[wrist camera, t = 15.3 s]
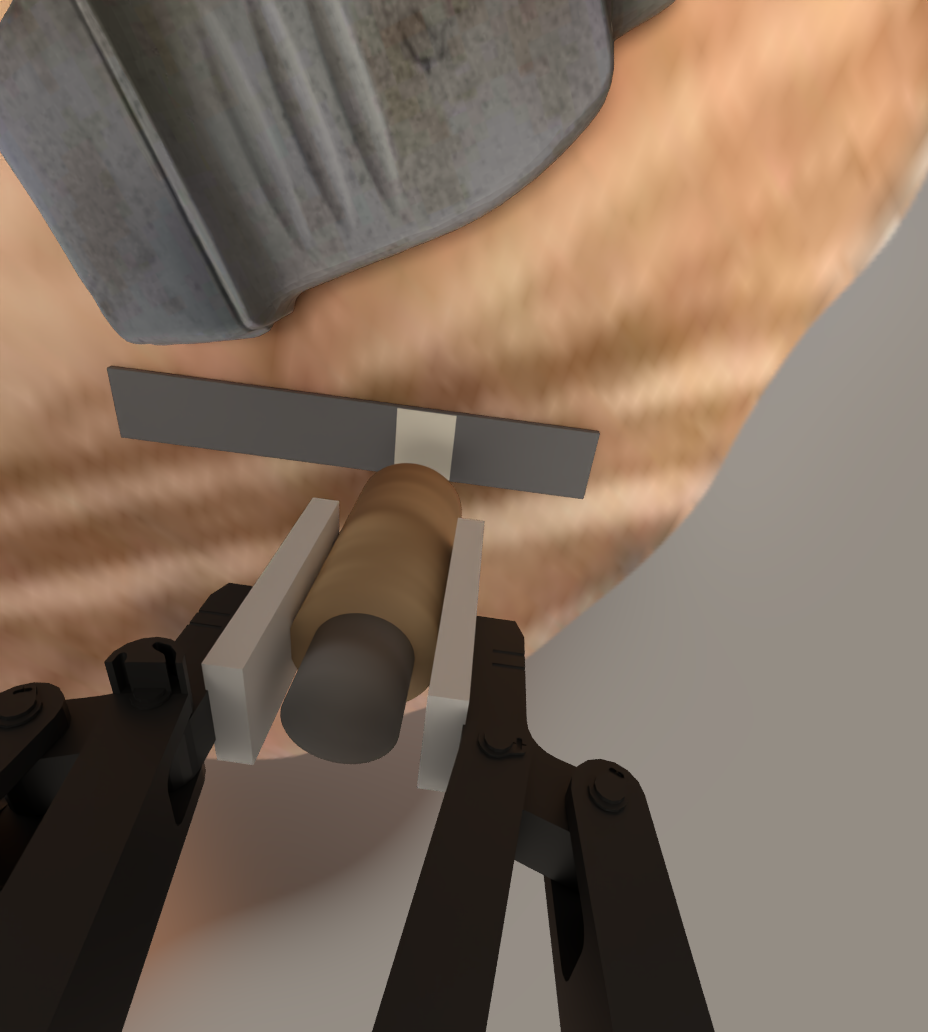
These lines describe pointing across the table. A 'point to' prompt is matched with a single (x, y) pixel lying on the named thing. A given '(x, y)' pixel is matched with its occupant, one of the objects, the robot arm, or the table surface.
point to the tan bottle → (373, 617)
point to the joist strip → (351, 432)
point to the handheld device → (282, 137)
